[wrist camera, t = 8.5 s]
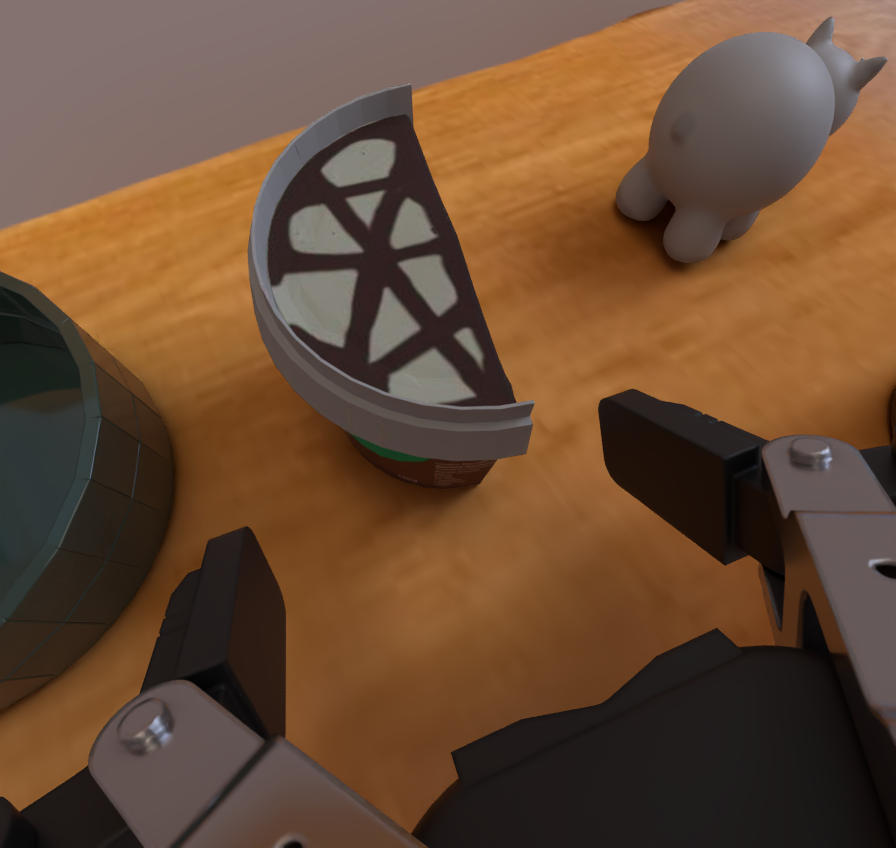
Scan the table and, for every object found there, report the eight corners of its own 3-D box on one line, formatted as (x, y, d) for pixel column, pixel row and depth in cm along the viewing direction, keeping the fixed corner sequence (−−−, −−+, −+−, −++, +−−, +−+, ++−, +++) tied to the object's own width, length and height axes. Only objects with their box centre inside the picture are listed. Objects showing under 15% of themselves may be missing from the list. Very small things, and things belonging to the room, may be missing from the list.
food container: (288, 305, 24) (203, 101, 15) (413, 279, 25) (406, 71, 16) (340, 560, 20) (265, 495, 10) (490, 518, 21) (542, 423, 11)
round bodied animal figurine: (837, 205, 28) (997, 39, 20) (675, 290, 25) (787, 137, 18) (747, 125, 30) (860, -52, 23) (589, 196, 28) (654, 21, 20)
